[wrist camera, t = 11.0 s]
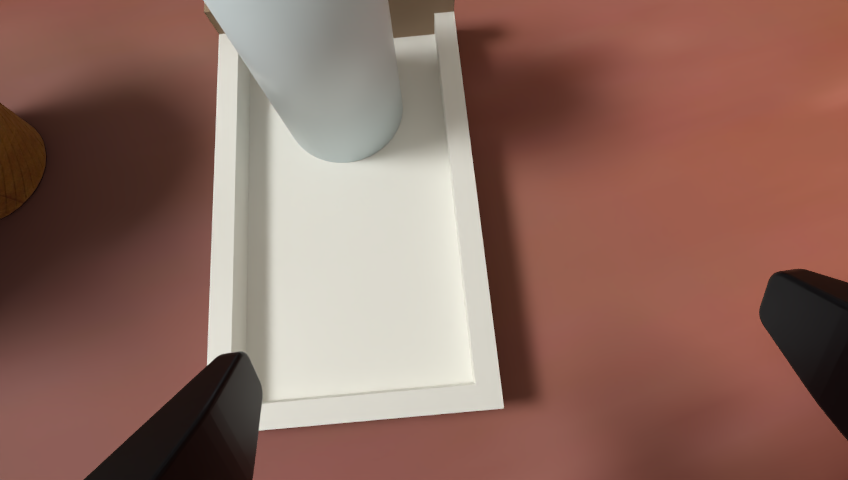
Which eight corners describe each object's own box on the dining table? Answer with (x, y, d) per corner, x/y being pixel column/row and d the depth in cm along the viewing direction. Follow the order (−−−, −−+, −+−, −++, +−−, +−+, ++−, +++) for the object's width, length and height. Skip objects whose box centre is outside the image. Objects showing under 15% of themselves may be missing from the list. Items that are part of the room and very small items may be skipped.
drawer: (496, 402, 20) (509, 413, 16) (232, 425, 20) (183, 442, 16) (450, 30, 25) (452, -30, 21) (240, 50, 25) (205, -6, 21)
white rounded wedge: (426, 112, 23) (413, -190, 10) (336, 185, 22) (198, -45, 9) (352, 39, 24) (259, -310, 11) (264, 106, 23) (57, -192, 11)
